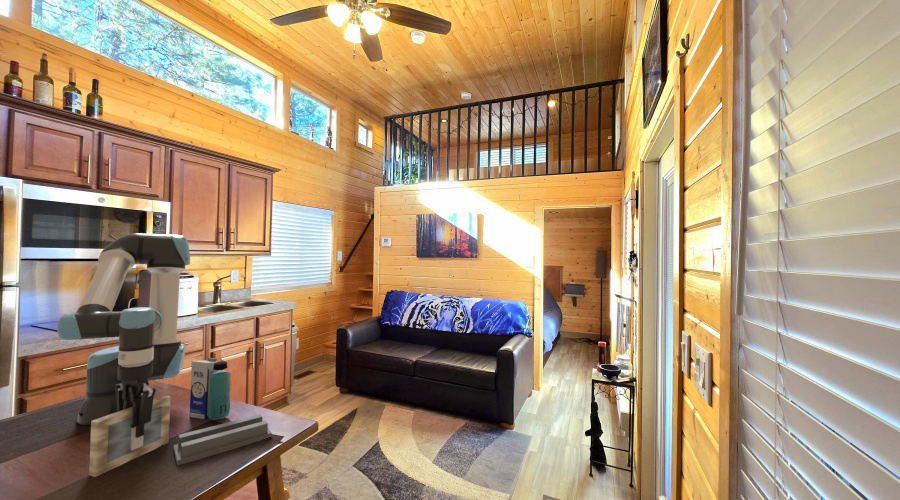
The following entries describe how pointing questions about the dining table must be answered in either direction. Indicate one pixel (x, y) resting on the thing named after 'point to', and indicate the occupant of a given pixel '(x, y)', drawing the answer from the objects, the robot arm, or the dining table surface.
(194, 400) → the milk carton
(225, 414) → the beverage bottle
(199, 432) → the display stand
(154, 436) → the picture frame
